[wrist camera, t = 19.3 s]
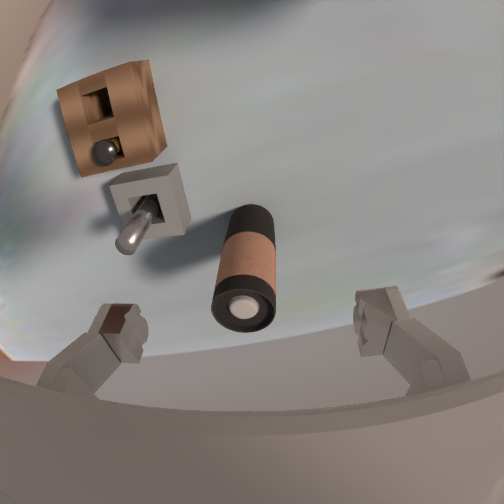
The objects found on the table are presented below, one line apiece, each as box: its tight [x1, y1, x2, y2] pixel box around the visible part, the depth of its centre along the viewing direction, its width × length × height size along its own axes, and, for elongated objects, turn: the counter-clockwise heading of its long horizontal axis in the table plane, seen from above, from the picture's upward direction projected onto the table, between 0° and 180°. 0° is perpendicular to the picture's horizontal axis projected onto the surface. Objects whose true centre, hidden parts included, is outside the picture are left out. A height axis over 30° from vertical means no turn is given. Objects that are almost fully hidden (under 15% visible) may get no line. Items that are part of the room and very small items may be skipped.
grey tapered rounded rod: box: [115, 193, 161, 255], centre depth 44 cm, size 3×3×14 cm
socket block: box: [57, 60, 167, 177], centre depth 39 cm, size 14×12×7 cm
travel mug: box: [211, 204, 276, 333], centre depth 44 cm, size 8×8×20 cm
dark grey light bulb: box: [92, 136, 122, 166], centre depth 40 cm, size 4×4×8 cm
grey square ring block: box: [109, 163, 191, 239], centre depth 48 cm, size 10×10×5 cm
